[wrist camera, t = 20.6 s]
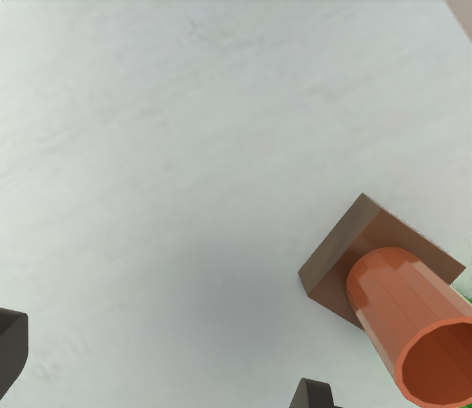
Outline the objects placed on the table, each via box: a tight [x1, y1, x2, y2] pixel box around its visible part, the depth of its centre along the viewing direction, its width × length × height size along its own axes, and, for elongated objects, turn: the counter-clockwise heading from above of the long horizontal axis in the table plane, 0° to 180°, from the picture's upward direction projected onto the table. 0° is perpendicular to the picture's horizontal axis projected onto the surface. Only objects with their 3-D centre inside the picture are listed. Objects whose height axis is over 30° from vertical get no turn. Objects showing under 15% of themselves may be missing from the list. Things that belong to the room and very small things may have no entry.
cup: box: [346, 247, 472, 408], centre depth 25 cm, size 6×6×9 cm
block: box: [298, 193, 466, 332], centre depth 31 cm, size 9×9×4 cm
